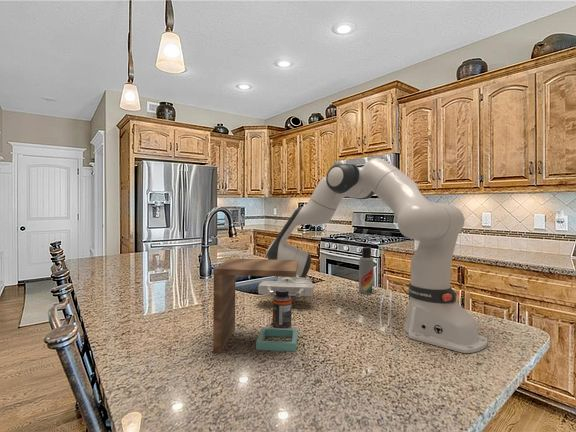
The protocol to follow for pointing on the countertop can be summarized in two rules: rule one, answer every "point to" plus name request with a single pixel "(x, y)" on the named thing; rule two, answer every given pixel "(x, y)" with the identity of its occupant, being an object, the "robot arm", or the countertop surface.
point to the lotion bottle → (366, 272)
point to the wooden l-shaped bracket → (226, 290)
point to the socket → (277, 344)
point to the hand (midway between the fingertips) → (284, 294)
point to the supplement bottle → (282, 308)
